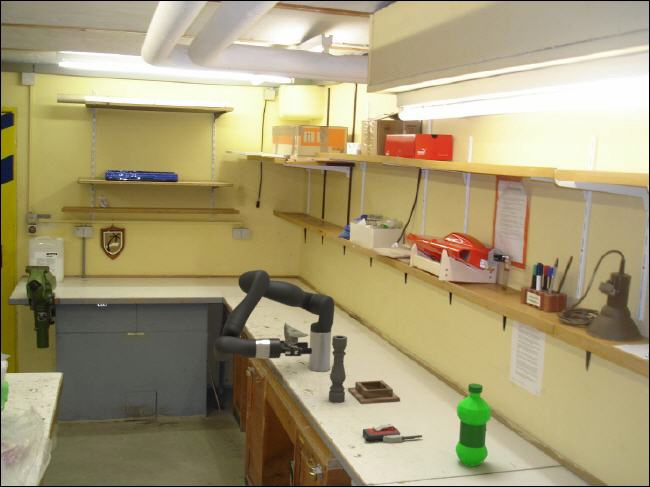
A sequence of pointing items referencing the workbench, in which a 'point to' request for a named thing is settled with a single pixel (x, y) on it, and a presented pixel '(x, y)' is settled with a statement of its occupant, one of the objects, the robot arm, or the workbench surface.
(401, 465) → the workbench surface
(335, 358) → the candle holder
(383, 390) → the walnut socket base
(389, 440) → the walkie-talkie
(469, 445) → the plastic bottle
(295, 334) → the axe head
